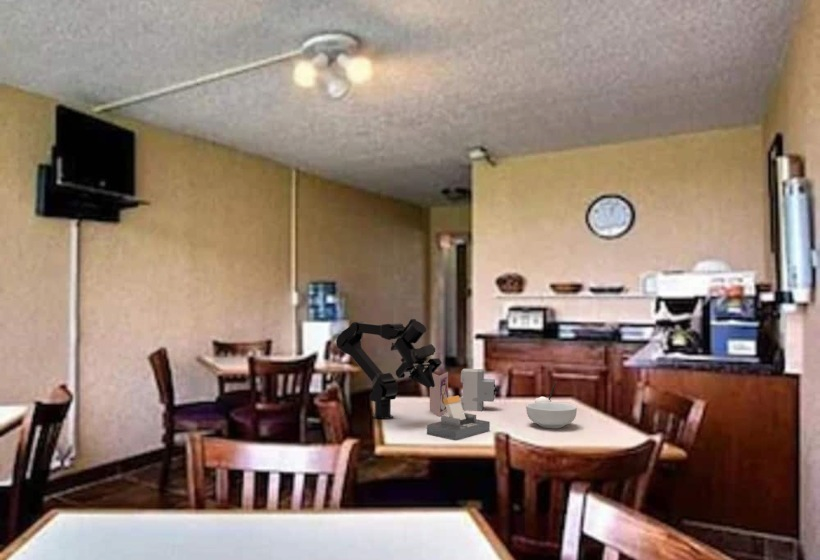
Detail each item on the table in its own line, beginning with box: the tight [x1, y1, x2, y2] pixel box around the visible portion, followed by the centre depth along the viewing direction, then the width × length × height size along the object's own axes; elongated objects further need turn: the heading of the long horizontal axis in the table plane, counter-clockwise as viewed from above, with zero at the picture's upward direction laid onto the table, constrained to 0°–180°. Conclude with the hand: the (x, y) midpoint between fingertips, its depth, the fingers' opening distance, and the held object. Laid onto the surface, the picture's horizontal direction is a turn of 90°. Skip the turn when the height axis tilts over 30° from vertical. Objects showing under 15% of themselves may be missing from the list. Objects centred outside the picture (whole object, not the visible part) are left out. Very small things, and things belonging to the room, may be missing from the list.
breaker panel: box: [426, 412, 491, 441], centre depth 222 cm, size 12×18×6 cm, turn 138°
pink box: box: [429, 371, 449, 418], centre depth 252 cm, size 11×7×15 cm, turn 161°
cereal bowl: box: [525, 401, 577, 430], centre depth 232 cm, size 17×17×7 cm
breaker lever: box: [443, 395, 466, 422], centre depth 223 cm, size 2×6×8 cm, turn 137°
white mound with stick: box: [534, 381, 557, 403], centre depth 253 cm, size 10×6×12 cm, turn 58°
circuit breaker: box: [460, 368, 500, 412], centre depth 261 cm, size 8×14×15 cm, turn 78°
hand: (431, 387), depth 229 cm, fingers closed
